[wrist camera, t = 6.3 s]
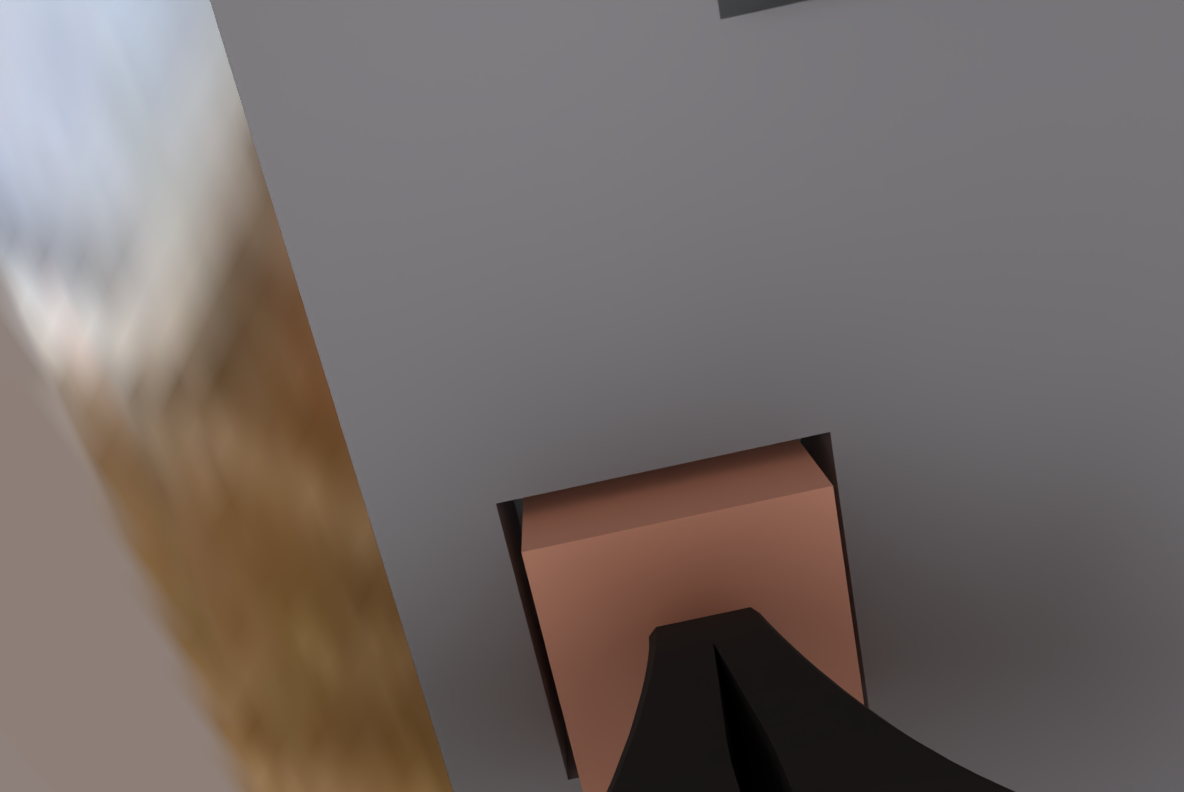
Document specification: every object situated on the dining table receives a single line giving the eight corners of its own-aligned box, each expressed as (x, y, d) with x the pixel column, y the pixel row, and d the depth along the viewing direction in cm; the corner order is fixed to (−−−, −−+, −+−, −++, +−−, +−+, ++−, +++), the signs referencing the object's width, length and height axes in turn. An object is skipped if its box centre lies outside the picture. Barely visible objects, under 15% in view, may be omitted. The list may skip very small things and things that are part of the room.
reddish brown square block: (776, 410, 15) (833, 485, 12) (811, 631, 16) (870, 746, 13) (524, 464, 15) (521, 552, 12) (578, 681, 16) (586, 807, 13)
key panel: (1079, -695, 12) (1251, -944, 9) (1134, 674, 18) (1247, 783, 15) (134, -478, 12) (7, -657, 9) (505, 807, 18) (499, 940, 15)
